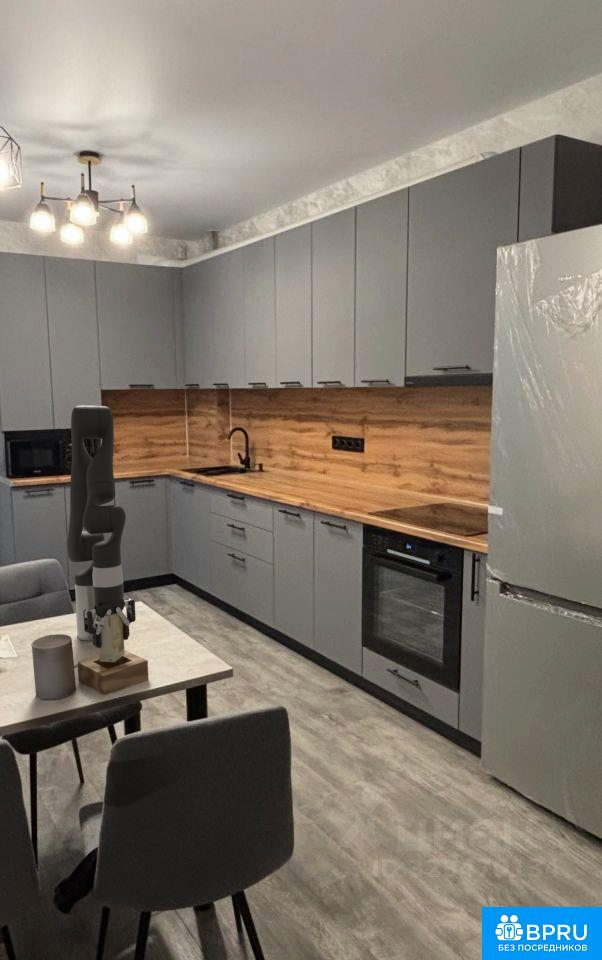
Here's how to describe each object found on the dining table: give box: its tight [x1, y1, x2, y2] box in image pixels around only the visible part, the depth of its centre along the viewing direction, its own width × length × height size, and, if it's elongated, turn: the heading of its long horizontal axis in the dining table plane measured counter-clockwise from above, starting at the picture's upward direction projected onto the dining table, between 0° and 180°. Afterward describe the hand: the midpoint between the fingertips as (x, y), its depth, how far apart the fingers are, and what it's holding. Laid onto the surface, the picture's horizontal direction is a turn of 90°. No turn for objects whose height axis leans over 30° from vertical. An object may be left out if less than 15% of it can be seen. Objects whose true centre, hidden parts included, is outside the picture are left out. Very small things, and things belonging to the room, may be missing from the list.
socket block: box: [76, 649, 149, 696], centre depth 186 cm, size 13×13×5 cm
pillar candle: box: [30, 633, 77, 701], centre depth 179 cm, size 10×10×15 cm
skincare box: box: [98, 613, 125, 662], centre depth 185 cm, size 6×4×12 cm
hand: (111, 643), depth 185 cm, fingers closed on skincare box, 7 cm apart
